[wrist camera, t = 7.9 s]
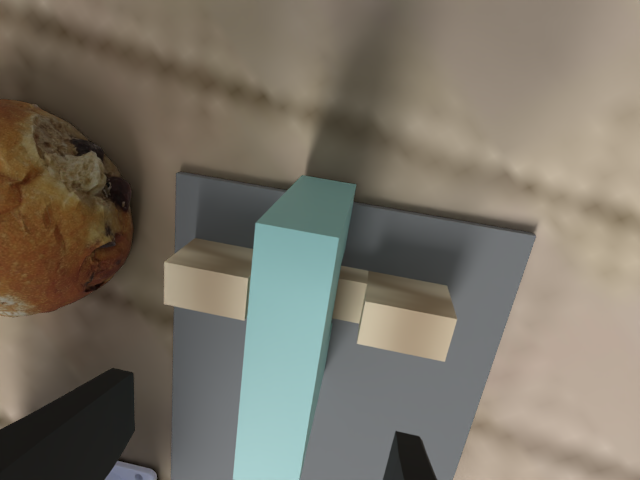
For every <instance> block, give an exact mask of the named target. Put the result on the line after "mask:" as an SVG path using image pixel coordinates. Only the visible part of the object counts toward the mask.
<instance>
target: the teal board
mask: <svg viewBox="0 0 640 480" xmlns="http://www.w3.org/2000/svg"><path fill="white" fill-rule="evenodd" d="M355 190H356V184H351V183H345V182H339V181H333V180H327V179H322V178H316V177H310V176H304V175H302V176H301V177H300V178H299V179H298V180H297V181H296V182H295V183H294V184H293V185H292V186H291V187H290V188H289V189H288V190H287V191H286V192H285V193H284V194H283V195H282V196H281V197H280V198H279V199H278V200H277V201H276V202H275V203H274V204H273V205H272V206H271V207H270V208H269V209H268V210H267V212H266V213H265V214H264V215H263V216H262V217H261V218H260V219H259V220H258V221H257V222H256V223H255V234H254V246H253V257H252V268H251V279H250V291H249V302H248V313H247V325H246V336H245V347H244V358H243V370H242V381H241V392H240V404H239V415H238V426H237V438H236V449H235V460H234V471H233V480H300V478H301V473H302V469H303V464H304V460H305V455H306V451H307V446H308V442H309V438H310V433H311V429H312V424H313V420H314V415H315V411H316V406H317V402H318V397H319V393H320V388H321V384H322V379H323V375H324V370H325V364H326V358H327V352H328V346H329V341H330V335H331V329H332V323H331V321H332V316H333V310H334V304H335V298H336V292H337V286H338V280H339V275H340V269H341V263H342V259H343V256H344V252H345V248H346V242H347V236H348V230H349V225H350V219H351V213H352V207H353V201H354V196H355Z"/></svg>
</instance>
